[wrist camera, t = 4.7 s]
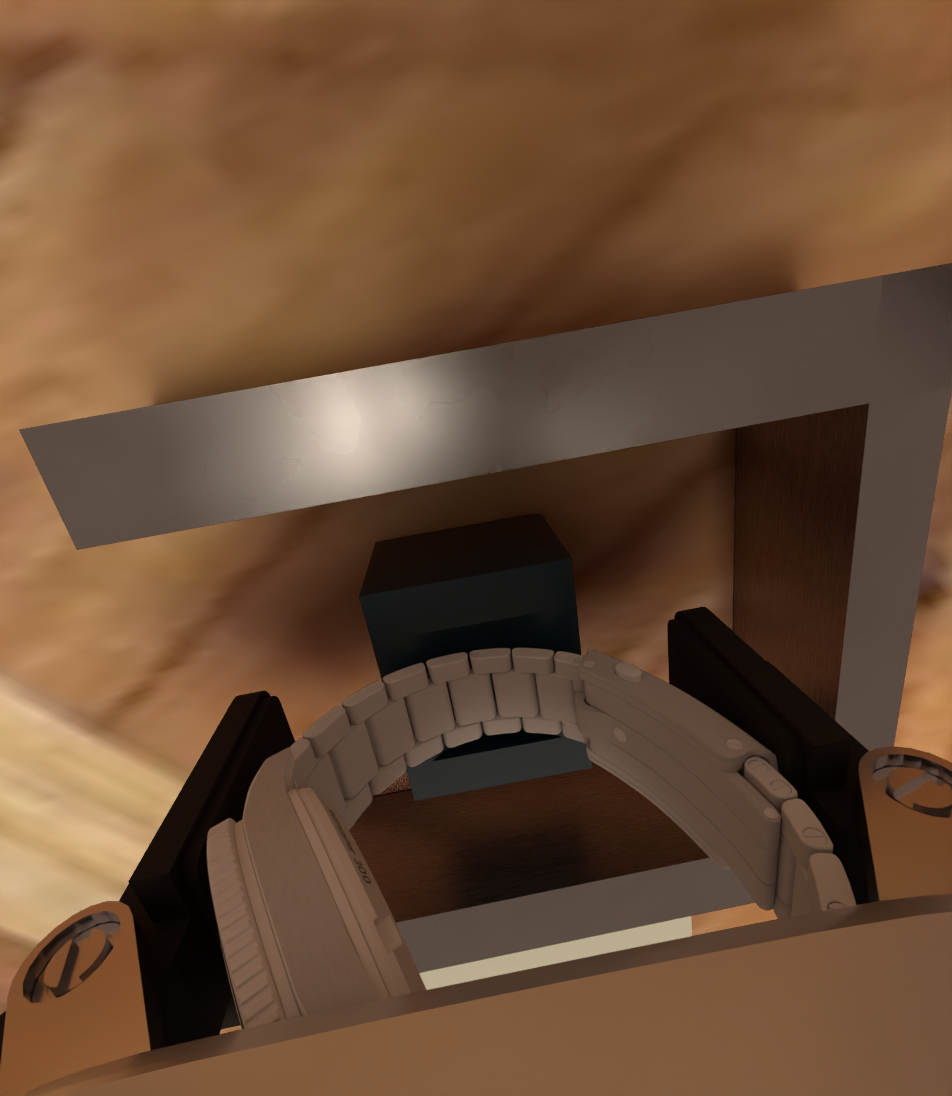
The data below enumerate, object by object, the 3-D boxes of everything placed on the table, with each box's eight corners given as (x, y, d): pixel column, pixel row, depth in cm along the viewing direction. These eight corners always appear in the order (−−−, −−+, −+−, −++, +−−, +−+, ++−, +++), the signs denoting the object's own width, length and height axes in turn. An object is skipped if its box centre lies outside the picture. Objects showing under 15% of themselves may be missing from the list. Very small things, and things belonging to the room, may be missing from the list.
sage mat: (338, 892, 17) (335, 910, 17) (680, 822, 18) (689, 837, 17) (412, 1085, 21) (411, 1105, 21) (687, 1026, 22) (693, 1043, 21)
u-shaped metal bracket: (152, 408, 11) (19, 429, 8) (800, 292, 12) (973, 259, 8) (324, 855, 17) (293, 999, 13) (774, 764, 17) (872, 877, 13)
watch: (299, 556, 13) (-211, 1321, 3) (607, 501, 13) (1245, 1027, 3) (353, 729, 15) (180, 1540, 5) (619, 680, 15) (1015, 1364, 5)
